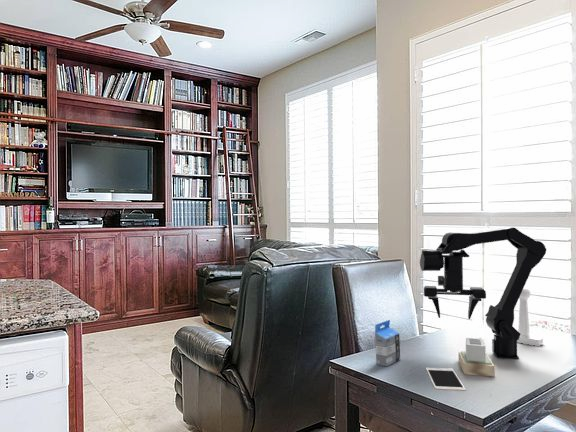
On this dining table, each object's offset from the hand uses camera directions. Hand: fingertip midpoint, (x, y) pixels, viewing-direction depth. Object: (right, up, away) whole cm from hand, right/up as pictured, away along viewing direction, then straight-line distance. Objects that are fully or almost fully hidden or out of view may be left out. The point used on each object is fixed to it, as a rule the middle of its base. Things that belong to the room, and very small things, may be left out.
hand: (454, 318), depth 140 cm
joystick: (+32, -12, +15) cm, 37 cm away
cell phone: (-11, -13, -21) cm, 27 cm away
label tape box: (-23, -12, -7) cm, 27 cm away
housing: (+1, -9, -13) cm, 15 cm away
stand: (+1, -12, -13) cm, 18 cm away
